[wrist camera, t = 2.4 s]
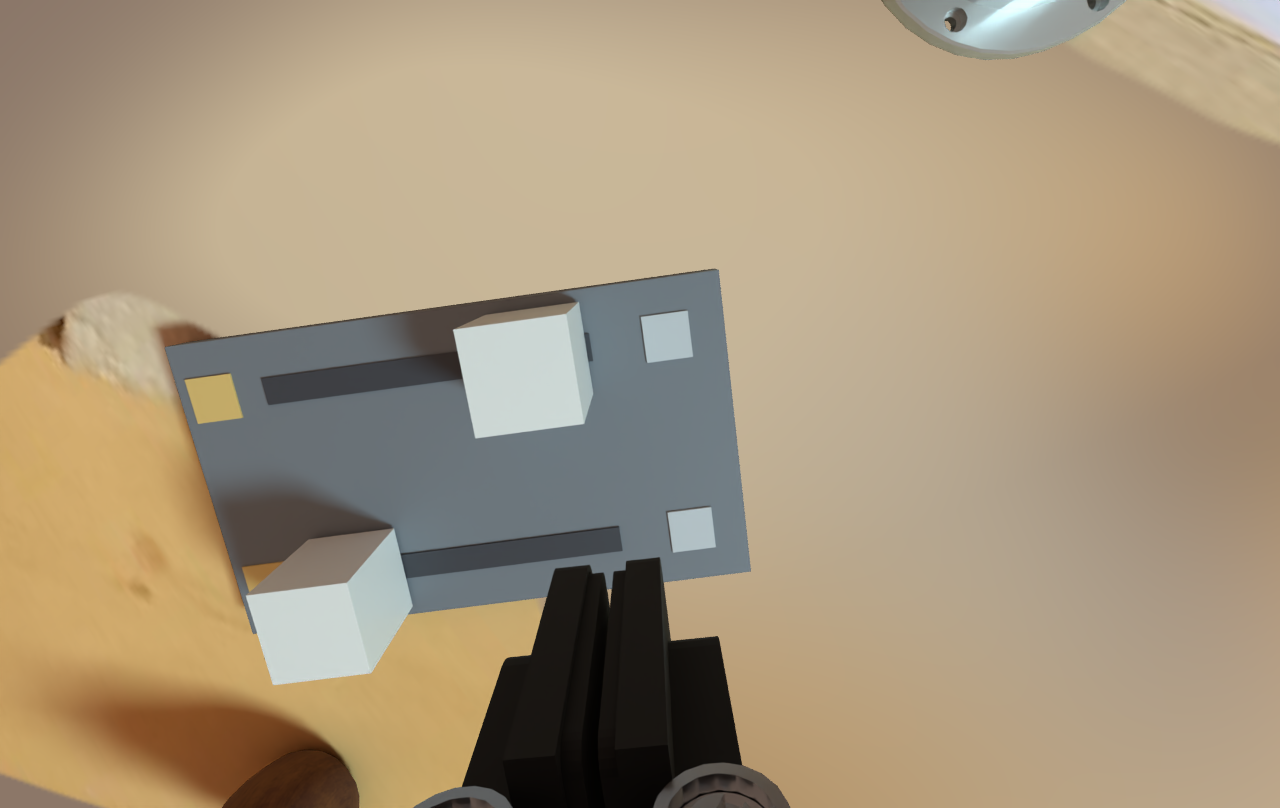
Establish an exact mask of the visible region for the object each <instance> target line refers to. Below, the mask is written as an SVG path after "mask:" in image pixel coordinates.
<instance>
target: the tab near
mask: <svg viewBox="0 0 1280 808" xmlns="http://www.w3.org/2000/svg"><path fill="white" fill-rule="evenodd" d="M453 331H454V336H455V341H456V346H457V351H458V356H459V361H460V366H461V371H462V376H463V380H464V385H465V390H466V395H467V400H468V405H469V410H470V415H471V420H472V424H473V429H474V434H475V438H483V437H490V436H498V435H505V434H513V433H520V432H528V431H535V430H543V429H550V428H558V427H565V426H573V425H580V424H584V423H585V419H586V416H587V413H588V409H589V406H590V403H591V400H592V396H593V388H592V382H591V376H590V369H589V363H588V357H587V350H586V344H585V338H584V331H583V325H582V319H581V312H580V306H579V302H574V303H567V304H559V305H552V306H545V307H538V308H531V309H523V310H516V311H509V312H502V313H495V314H488V315H484V316H482V317H480V318H477V319H475V320H473V321H471V322H469V323H466V324H464V325H462V326H460V327H458V328H456V329H453Z"/></svg>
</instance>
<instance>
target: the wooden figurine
mask: <svg viewBox="0 0 1280 808" xmlns="http://www.w3.org/2000/svg"><path fill="white" fill-rule="evenodd" d="M222 808H359V793H358V789H357V785H356V782H355V780H354V779H353V777H352V776H351V774H350V772H349V771H348V769H347V768H346V767H345V766H344V765H343V764H342V763H341V762H340V761H339V760H338V759H337V758H335V757H333V756H331V755H329V754H327V753H325V752H322V751H313V750H302V751H298V752H293V753H289V754H287V755H285V756H283V757H281V758H279V759H278V760H276V761H274V762H273V763H271V764H270V765H268V766H267V767H265V768H264V769H262V770H261V771H259V772H258V773H257V774H255V775H254V776H253V777H251V778H250V779H249V780H247V781H246V782H245V783H244V784H243V785H242V786H241V787H240V788H239V789H238V790H237V791H236V792H235V793H234V794H233V795H232V796H231V797H230V798H229V799H228V801H227V802H226V803H225V804H224V806H223V807H222Z"/></svg>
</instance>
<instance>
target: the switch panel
mask: <svg viewBox="0 0 1280 808" xmlns="http://www.w3.org/2000/svg"><path fill="white" fill-rule="evenodd" d="M574 302H579V306H580V312H581V319H582V325H583V331H584V338H585V344H586V350H587V357H588V363H589V369H590V376H591V382H592V388H593V396H592V400H591V403H590V406H589V409H588V413H587V416H586V419H585V423H584V424H580V425H573V426H565V427H558V428H550V429H543V430H535V431H528V432H520V433H513V434H505V435H498V436H490V437H483V438H475V434H474V429H473V424H472V420H471V415H470V410H469V405H468V400H467V395H466V390H465V385H464V380H463V376H462V371H461V366H460V361H459V356H458V351H457V346H456V341H455V336H454V331H453V329H456V328H458V327H460V326H462V325H464V324H466V323H469V322H471V321H473V320H475V319H477V318H480V317H482V316H484V315H488V314H495V313H502V312H509V311H516V310H523V309H531V308H538V307H545V306H552V305H559V304H567V303H574ZM165 351H166V354H167V357H168V360H169V364H170V367H171V370H172V373H173V376H174V380H175V383H176V386H177V389H178V393H179V396H180V399H181V402H182V406H183V409H184V412H185V415H186V418H187V422H188V425H189V428H190V431H191V435H192V438H193V441H194V444H195V448H196V451H197V454H198V457H199V461H200V464H201V467H202V470H203V473H204V477H205V480H206V483H207V486H208V490H209V493H210V496H211V499H212V503H213V506H214V509H215V512H216V515H217V519H218V522H219V525H220V528H221V532H222V535H223V538H224V541H225V545H226V548H227V551H228V554H229V558H230V561H231V564H232V567H233V570H234V574H235V577H236V580H237V583H238V587H239V590H240V593H241V596H242V600H243V603H244V606H245V609H246V612H247V616H248V619H249V622H250V625H251V629H252V632H253V634H256V633H257V631H256V628H255V624H254V621H253V618H252V615H251V611H250V608H249V605H248V602H247V598H246V595H247V594H248V593H249V592H250V591H251V590H253V589H254V588H255V587H256V586H257V585H258V584H259V583H260V582H262V581H263V580H264V579H265V578H266V577H267V576H268V575H269V574H270V573H272V572H273V571H274V570H275V569H276V568H277V567H278V566H279V565H281V564H282V563H283V562H284V561H285V560H286V559H287V558H288V557H289V556H291V555H292V554H293V553H294V552H295V551H296V550H297V549H298V548H300V547H301V546H302V545H303V544H304V543H305V542H306V541H307V540H308V539H315V538H323V537H331V536H338V535H346V534H354V533H361V532H369V531H377V530H385V529H392V528H394V531H395V535H396V539H397V543H398V547H399V551H400V555H401V559H402V564H403V568H404V572H405V576H406V580H407V584H408V588H409V592H410V597H411V601H412V605H413V607H412V608H411V610H410V612H409V613H408V614H415V613H423V612H431V611H439V610H447V609H455V608H463V607H471V606H479V605H487V604H495V603H503V602H511V601H519V600H527V599H535V598H543V597H547V595H548V591H549V587H550V584H551V580H552V576H553V573H554V570H555V568H563V567H573V566H582V565H590V566H591V569H592V573H604V575H605V580H606V586H607V589H612V582H613V572H614V571H621V570H625V568H626V561H629V560H638V559H648V558H657V557H660V560H661V566H662V574H663V582H669V581H678V580H686V579H694V578H702V577H709V576H717V575H725V574H734V573H742V572H749V571H751V568H750V558H749V550H748V540H747V530H746V521H745V512H744V502H743V493H742V484H741V474H740V465H739V456H738V446H737V437H736V427H735V418H734V409H733V399H732V390H731V381H730V371H729V362H728V353H727V343H726V334H725V326H724V315H723V306H722V297H721V287H720V278H719V270H717V269H708V270H701V271H695V272H687V273H679V274H673V275H665V276H658V277H651V278H644V279H637V280H630V281H622V282H615V283H608V284H601V285H594V286H587V287H580V288H572V289H565V290H559V291H551V292H543V293H536V294H529V295H523V296H515V297H508V298H500V299H494V300H486V301H479V302H472V303H465V304H457V305H451V306H443V307H436V308H429V309H422V310H415V311H408V312H400V313H393V314H386V315H379V316H372V317H364V318H357V319H350V320H344V321H336V322H329V323H321V324H314V325H307V326H300V327H293V328H286V329H279V330H271V331H264V332H257V333H250V334H243V335H236V336H228V337H221V338H214V339H207V340H200V341H192V342H186V343H182V344H177V345H172V346H168V347H165Z"/></svg>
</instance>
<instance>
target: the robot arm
mask: <svg viewBox="0 0 1280 808" xmlns="http://www.w3.org/2000/svg"><path fill="white" fill-rule="evenodd" d="M1125 1H1126V0H882V2H883V3H884V5H885V6H886V7H887V8H888V10H889V11H890V12H892V14H893V15H894V16H895V17H896V18H897V19H898V20H899V21H900V22H901V23H902V24H903V25H904V26H905V28H907V29H908V30H910V31H911V32H913V33H914V34H916V35H917V36H918V37H920V38H921V39H923V40H924V41H926V42H927V43H929V44H930V45H933V46H935V47H938V48H940V49H943V50H946V51H948V52H950V53H953V54H955V55H960V56H965V57H971V58H977V59H983V60H992V59H1014V58H1018V57H1022V56H1026V55H1030V54H1034V53H1038V52H1042V51H1045V50H1047V49H1050V48H1052V47H1054V46H1056V45H1059V44H1061V43H1063V42H1066V41H1068V40H1070V39H1072V38H1074V37H1076V36H1077V35H1079V34H1081V33H1083V32H1084V31H1086V30H1088V29H1090V28H1091V27H1093V26H1095V25H1097V24H1098V23H1100V22H1101V21H1102V20H1104V19H1105V18H1106V17H1107V16H1108V15H1110V14H1111V13H1112V12H1113V11H1114V10H1116V9H1117V8H1118V7H1119V6H1120V5H1122V4H1123V3H1124V2H1125ZM1088 6H1089V7H1088ZM944 21H948V22H949V23H950V24H951V31H949V30H948V29H947V28H946V26H945V22H944ZM414 808H790V806H789V804H788V802H787V800H786V799H785V797H784V796H783V794H782V793H781V791H780V789H779V788H778V786H777V785H775V784H774V783H773V782H772V781H770V780H769V779H768V778H767V777H765V776H764V775H763V774H762V773H759V772H757V771H754V770H753V769H750V768H748V767H746V766H743V765H742V762H741V756H740V752H739V745H738V741H737V735H736V730H735V723H734V718H733V713H732V707H731V701H730V696H729V691H728V685H727V680H726V674H725V669H724V663H723V658H722V652H721V647H720V641H719V638H718V636H715V637H705V638H696V639H686V640H676V641H671V638H670V630H669V623H668V614H667V606H666V598H665V591H664V582H663V574H662V566H661V560H660V557H657V558H648V559H638V560H629V561H626V568H625V570H621V571H614V572H613V582H612V593H611V603H610V606H609V599H608V592H607V586H606V580H605V575H604V573H592V569H591V566H590V565H582V566H573V567H563V568H555V570H554V573H553V576H552V580H551V584H550V587H549V591H548V595H547V598H546V602H545V606H544V610H543V613H542V617H541V621H540V624H539V628H538V632H537V635H536V639H535V643H534V646H533V650H532V654H531V655H529V656H519V657H509V658H507V659H505V661H504V663H503V665H502V668H501V671H500V674H499V677H498V680H497V683H496V686H495V689H494V692H493V695H492V698H491V701H490V704H489V707H488V710H487V713H486V716H485V719H484V722H483V725H482V728H481V731H480V734H479V737H478V740H477V743H476V746H475V749H474V752H473V755H472V758H471V761H470V764H469V767H468V770H467V773H466V776H465V779H464V782H463V785H462V787H459V788H453V789H450V790H447V791H444V792H441V793H439V794H436V795H434V796H432V797H430V798H428V799H427V800H425V801H423V802H421V803H420V804H418V805H416V806H415V807H414Z"/></svg>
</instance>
